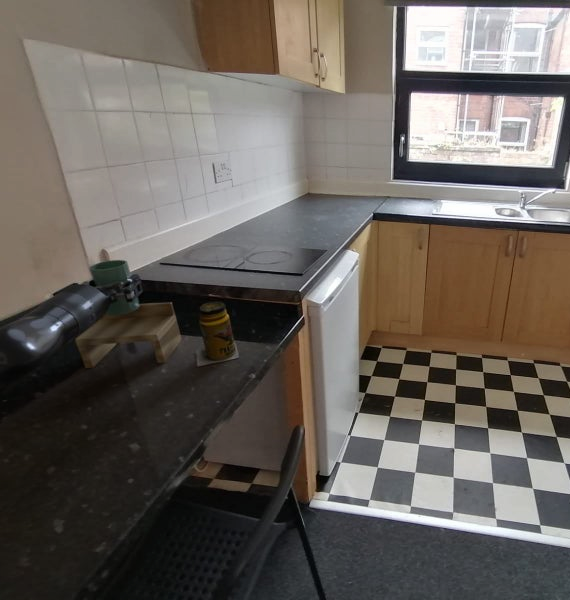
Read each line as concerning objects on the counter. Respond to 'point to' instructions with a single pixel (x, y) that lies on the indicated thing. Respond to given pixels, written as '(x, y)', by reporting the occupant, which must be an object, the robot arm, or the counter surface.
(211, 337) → the condiment
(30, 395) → the counter surface
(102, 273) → the cup
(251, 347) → the counter surface
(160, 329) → the shelf
